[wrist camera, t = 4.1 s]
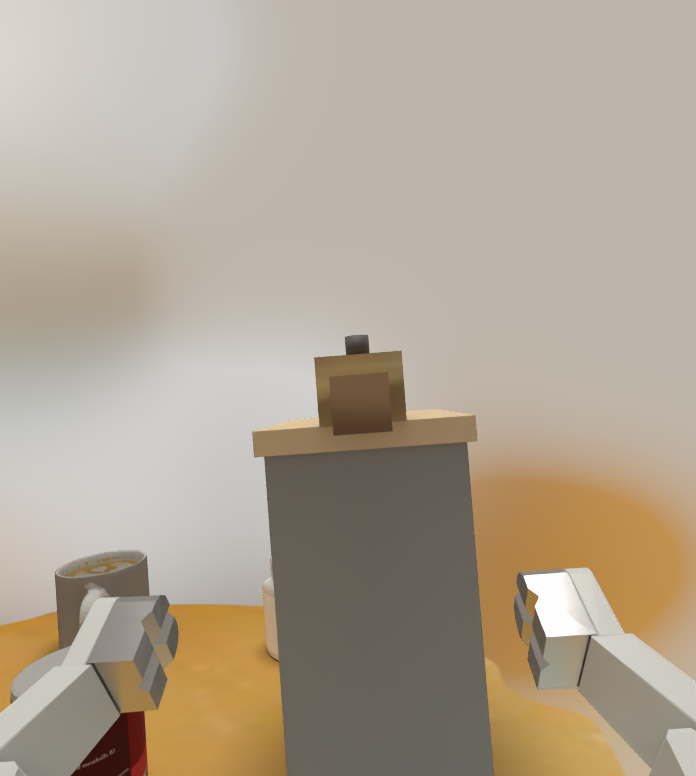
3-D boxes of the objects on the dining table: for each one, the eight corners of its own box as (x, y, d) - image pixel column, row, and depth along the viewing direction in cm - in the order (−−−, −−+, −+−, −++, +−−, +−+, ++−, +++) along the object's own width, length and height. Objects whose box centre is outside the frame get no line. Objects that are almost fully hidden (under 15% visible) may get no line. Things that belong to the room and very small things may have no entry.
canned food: (99, 775, 38) (90, 631, 39) (176, 805, 35) (165, 647, 35) (-8, 860, 32) (-19, 685, 32) (73, 909, 28) (61, 712, 28)
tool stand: (512, 872, 28) (475, 415, 29) (284, 883, 29) (252, 431, 29) (460, 708, 43) (436, 409, 44) (311, 716, 44) (289, 420, 44)
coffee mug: (84, 631, 65) (79, 553, 65) (162, 623, 65) (157, 546, 66) (24, 691, 51) (18, 593, 51) (123, 680, 52) (117, 583, 52)
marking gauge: (422, 429, 21) (412, 306, 21) (303, 437, 21) (294, 315, 21) (393, 413, 40) (388, 349, 40) (332, 418, 41) (327, 354, 41)
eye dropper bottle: (270, 671, 52) (262, 554, 52) (265, 646, 57) (258, 540, 57) (312, 662, 53) (304, 548, 53) (303, 638, 58) (295, 535, 58)
